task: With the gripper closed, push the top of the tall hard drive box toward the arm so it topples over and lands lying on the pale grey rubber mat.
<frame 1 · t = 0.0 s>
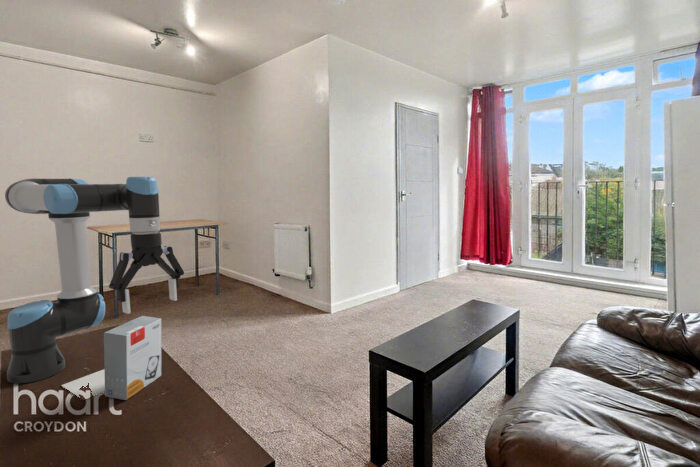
hand: (151, 306, 108), 28 cm above the table, fingers open, 13 cm apart
mat: (99, 382, 121), on the table
hard drive box: (135, 386, 118), on the table, touching mat
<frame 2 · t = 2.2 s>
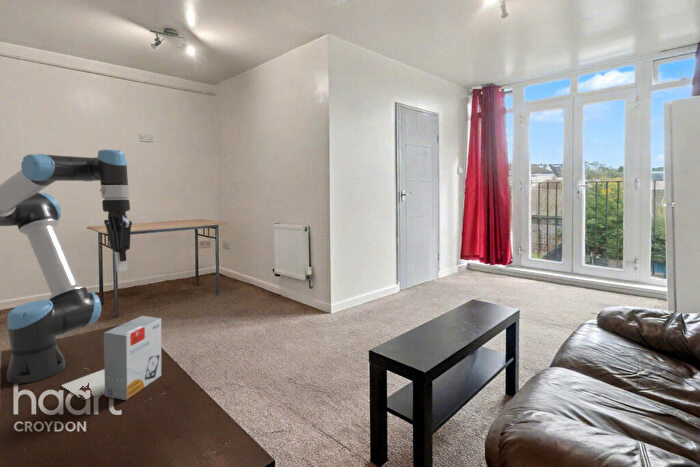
hand: (121, 270, 125), 34 cm above the table, fingers closed
nothing on the table moved.
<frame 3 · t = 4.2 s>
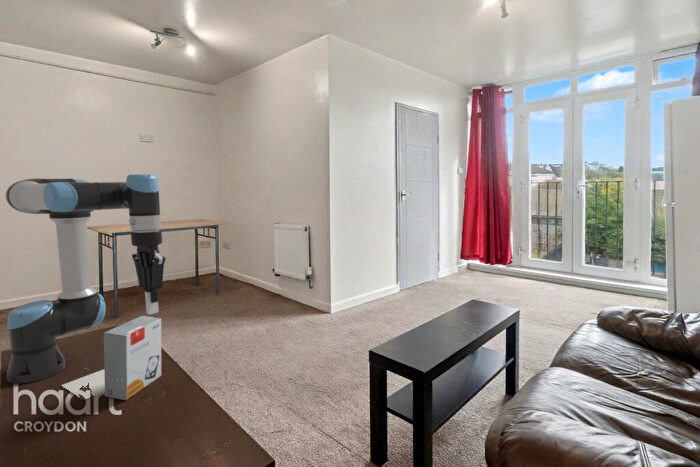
hand: (152, 312, 108), 26 cm above the table, fingers closed
nothing on the table moved.
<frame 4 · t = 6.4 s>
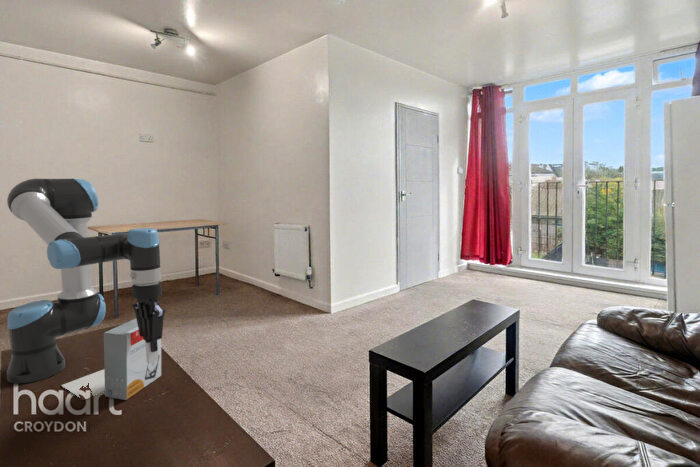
hand: (152, 361, 111), 11 cm above the table, fingers closed
nothing on the table moved.
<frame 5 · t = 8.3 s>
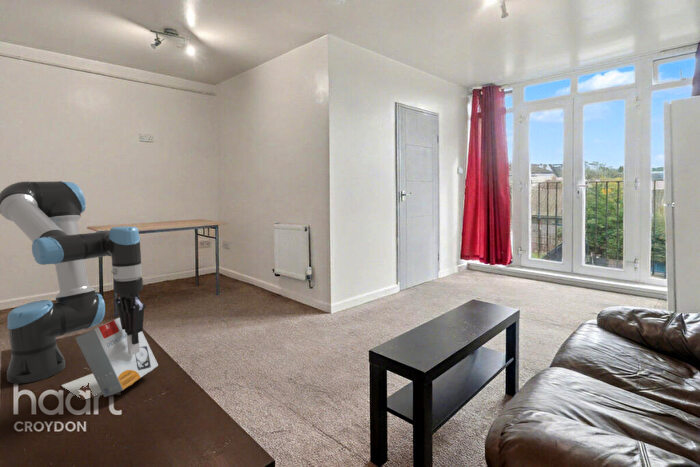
hand: (133, 353, 116), 11 cm above the table, fingers closed
hard drive box: (133, 381, 118), point 2 cm above the table, touching mat
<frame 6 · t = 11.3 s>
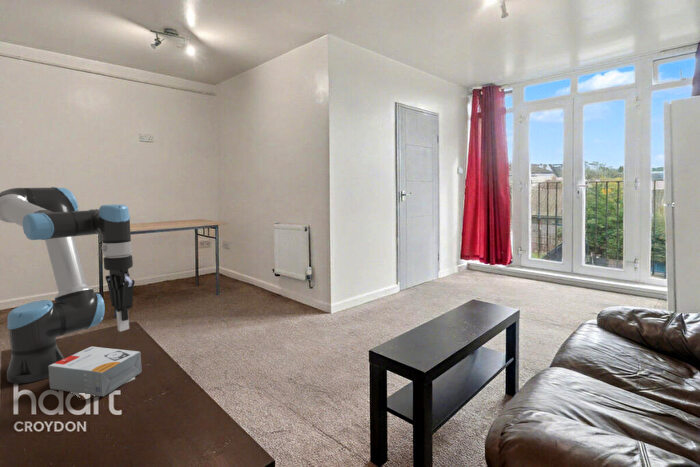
hand: (123, 329, 118), 18 cm above the table, fingers closed
hard drive box: (124, 372, 118), point 4 cm above the table, touching mat
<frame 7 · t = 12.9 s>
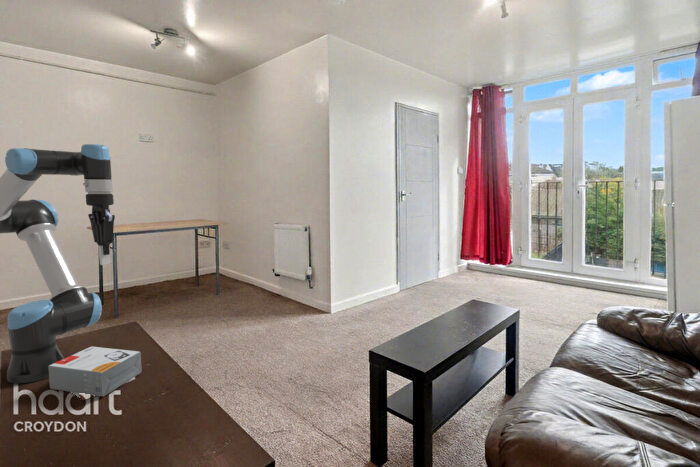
hand: (105, 264, 126), 36 cm above the table, fingers closed
nothing on the table moved.
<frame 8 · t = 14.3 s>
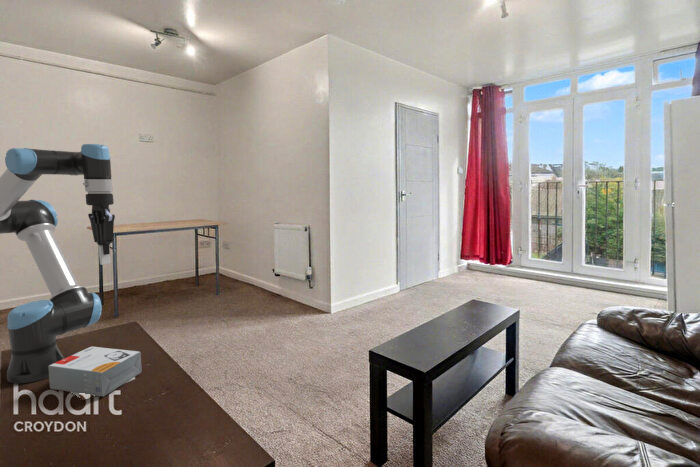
hand: (105, 263, 126), 36 cm above the table, fingers closed
nothing on the table moved.
at the end: hard drive box tilted 90°; hard drive box inside the target area (10.7 cm from its centre), point 4.2 cm above the table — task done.
